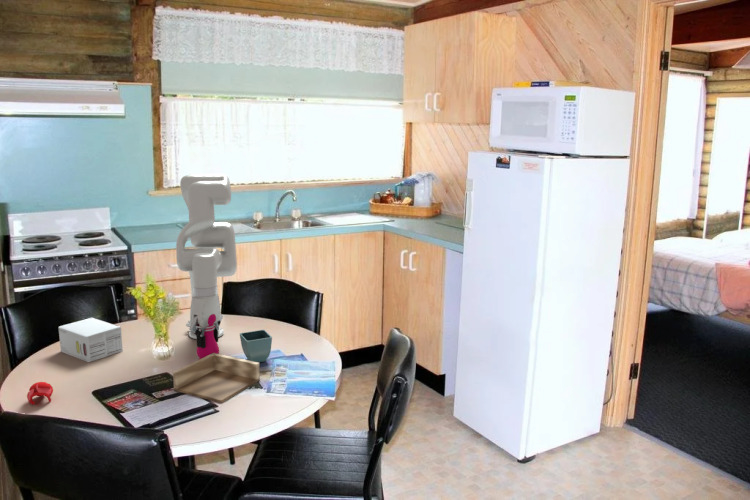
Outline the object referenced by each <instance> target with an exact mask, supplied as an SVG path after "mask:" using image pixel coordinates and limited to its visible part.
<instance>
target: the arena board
mask: <svg viewBox="0 0 750 500" xmlns="http://www.w3.org/2000/svg"><path fill="white" fill-rule="evenodd" d="M260 380H261V378H259V379H257V380H256V379H252V378H247V377H243V376H239V375H235V374H230V373H226V372H222V371H218V370H213V371H212V372H210V373H208V374H206V375H204V376H202V377H200V378H198V379H196V380H194V381H192V382H190V383H188V384H186V385H184V386H182V387H180V388H178V389H176V388H174V387H173V391H176V392H178V393H182V394H186V395H191V396H193V397H198V398H200V399H201V398H202V399H205V400H209V401H213V402H217V403H221V404H222V403H224V402H226V401H227V400H229V399H231V398H233V397H234V396H236V395H237V394H239V393H241V392H243V391H245V390H246V389H248V388H249V387H251V386H253V385H254V384H257V383H258V382H259V381H260Z"/></svg>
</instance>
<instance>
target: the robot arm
mask: <svg viewBox="0 0 750 500" xmlns="http://www.w3.org/2000/svg"><path fill="white" fill-rule="evenodd" d="M229 178H230V177H228V175H227V174H224V173H194V174H187V175H184V176H182V177H181V178H180V182H179V186H180V192H181V195H182V197H183V200H184V203H185V205H186V207H187V211H188V223H186V225H184V227H182V229H181V230H180V232H179V234H178V236H177V238H176V244H175V245H176V246H175V247H176V248H175V249H176V265H177V268H178V269H179V270H180V271H181V272H188V274H189V280H190V290H191V291H190V292H191V293H190V294H191V301H190V309H189V310H190V311H189V314H190V315H189V318H190V319H189V320H188V321H187V322H186V325H185V326H186V327H188V329H189V332H188V336H189V338H191V339H193V340H196V348H197V347H201V348H205V347H206V342H205V336H204V331H205V327H207V326H209V324H208V318H209V316H210V315H212V314H215V315H216V321H215V322H214V324H215V329H214V330H213V334H214V338H215V340H216V342H217V343H218V342H219V338H221V336H224V332H225V331H224V329H223V328H221V327H220V326H221V322H222V320H223V318H224V315H223V314H222V313H221V312H222V311H221V301H220V296H219V289H218V278H223V277H232V276H235V274H236V272H237V269H238V268H237V267H238V264H237V263H238V262H237V249H236V248H237V247H236V245H237V244H236V235H235V229H234V226H233V225H232V224H231V223H230V222H226V221H224V222H223V221H220V222H215V221H216V219H215V217H216V216H215V206H226V205H229V204H230V202H231V201H232V187H231V182H230V179H229ZM189 239H190V242H191V245H192V248H186V247H185V246H186V244H187V242H188V241H189ZM193 247H194V248H193ZM219 249H222V250H219ZM199 328H201V331H200V330H199Z"/></svg>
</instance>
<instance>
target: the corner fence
mask: <svg viewBox="0 0 750 500" xmlns="http://www.w3.org/2000/svg"><path fill="white" fill-rule="evenodd" d="M213 370H218V371H222V372H226V373H230V374H235V375H239V376H243V377H247V378H252V379H256V380H257V379H259V378H260V375H261V374H260V371H261V370H260V362H253V361H249V360H248V359H244V358H241V357H240V358H238V357H234V356H230V355H225V354H220V353H219V354H217V353H212V354H210V355H208V356H206V357H204V358H202V359H199V358H198V359H197V360H195V361H193V362H191V363H189V364H187V365H185V366H182V367H181V368H179V369H177V370H175V371H173V372H172V377H173V379H172V380H173V389H174V388H176V389H178V388H180V387H182V386H184V385H186V384H188V383H190V382H192V381H194V380H196V379H198V378H200V377H202V376H204V375H206V374H208V373H210V372H212V371H213ZM260 379H261V378H260Z"/></svg>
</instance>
